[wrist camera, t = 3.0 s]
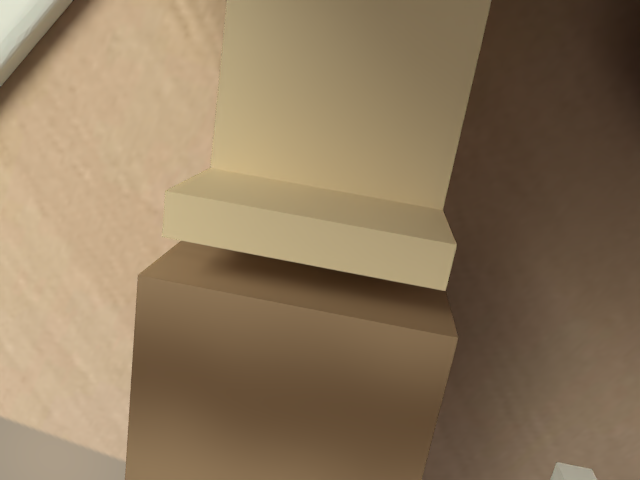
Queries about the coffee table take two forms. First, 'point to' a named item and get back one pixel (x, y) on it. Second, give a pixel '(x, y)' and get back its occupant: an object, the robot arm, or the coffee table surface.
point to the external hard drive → (24, 29)
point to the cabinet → (282, 371)
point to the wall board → (336, 135)
